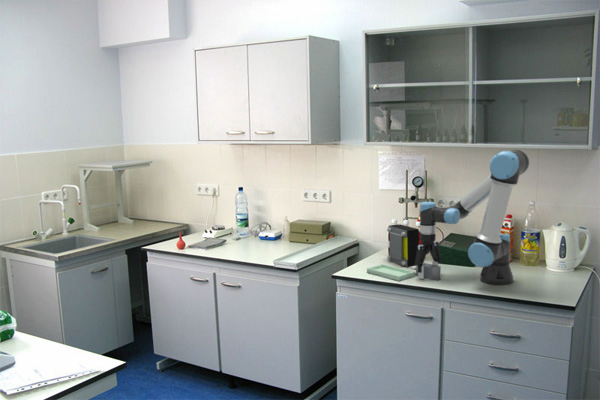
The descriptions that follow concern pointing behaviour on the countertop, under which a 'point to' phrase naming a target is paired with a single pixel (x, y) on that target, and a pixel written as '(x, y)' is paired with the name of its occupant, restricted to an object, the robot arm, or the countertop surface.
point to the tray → (391, 272)
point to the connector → (429, 271)
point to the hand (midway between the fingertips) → (428, 276)
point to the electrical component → (403, 244)
